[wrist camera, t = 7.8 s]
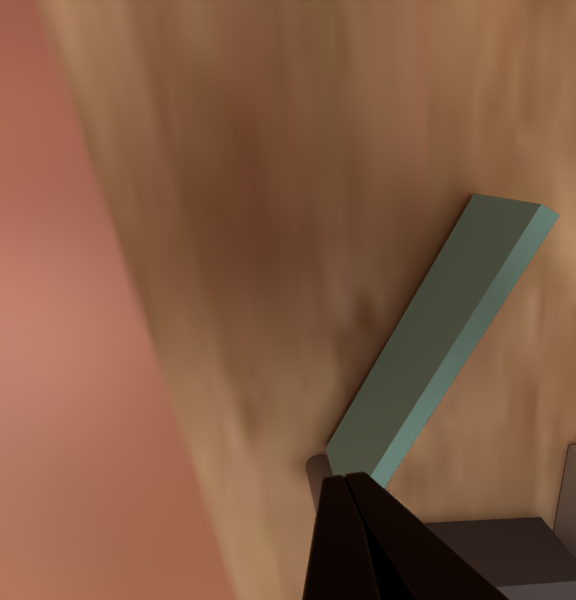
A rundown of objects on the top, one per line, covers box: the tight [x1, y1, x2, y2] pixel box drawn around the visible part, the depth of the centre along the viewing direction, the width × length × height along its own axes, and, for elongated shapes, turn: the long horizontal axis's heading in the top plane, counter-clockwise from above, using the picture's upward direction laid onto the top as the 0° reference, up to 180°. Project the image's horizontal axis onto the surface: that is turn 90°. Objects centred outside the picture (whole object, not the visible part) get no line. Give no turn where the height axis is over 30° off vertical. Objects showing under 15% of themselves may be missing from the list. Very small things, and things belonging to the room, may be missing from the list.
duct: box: [306, 444, 576, 558], centre depth 22 cm, size 17×15×4 cm
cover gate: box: [325, 194, 559, 488], centre depth 17 cm, size 1×13×4 cm, turn 154°
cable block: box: [424, 517, 576, 600], centre depth 23 cm, size 5×8×4 cm, turn 86°
